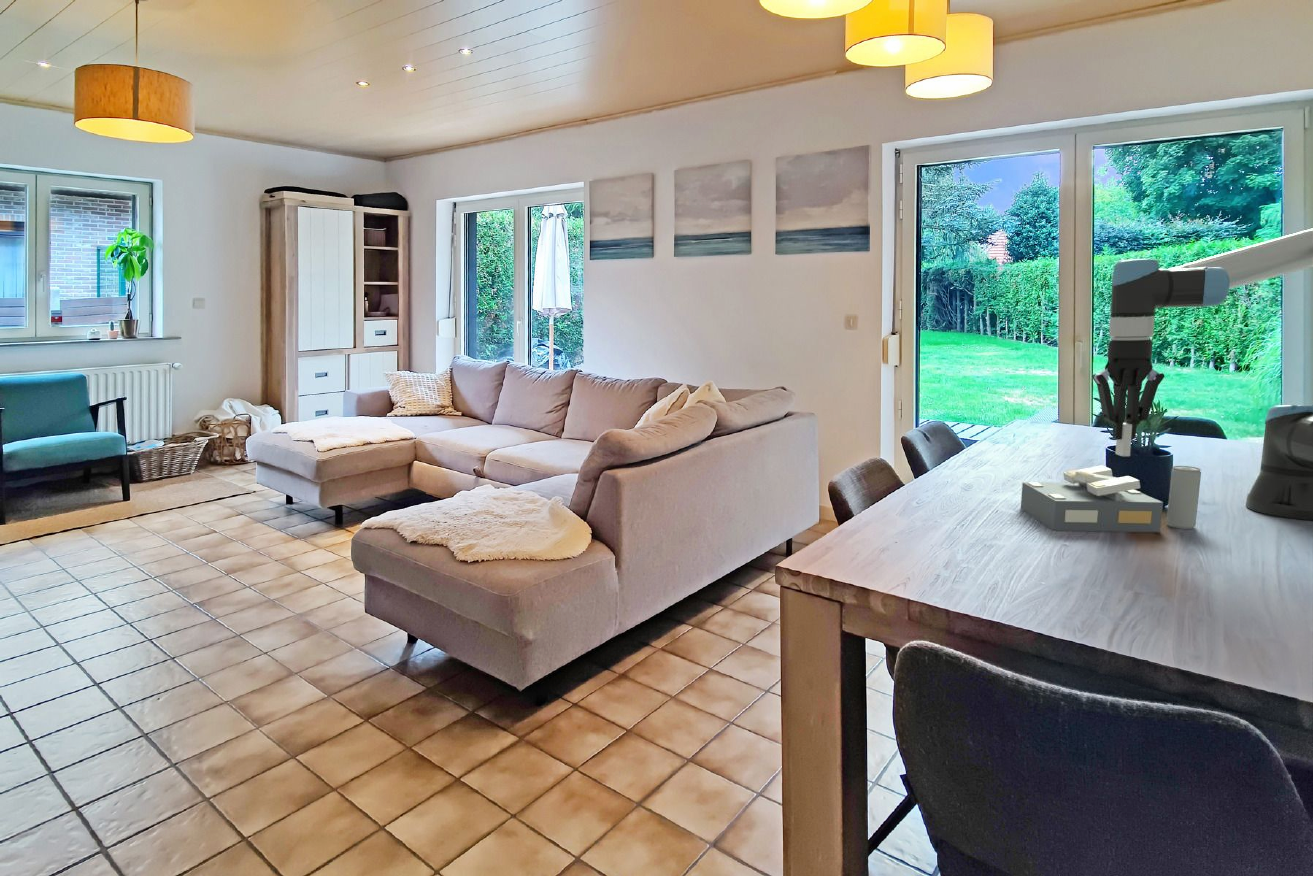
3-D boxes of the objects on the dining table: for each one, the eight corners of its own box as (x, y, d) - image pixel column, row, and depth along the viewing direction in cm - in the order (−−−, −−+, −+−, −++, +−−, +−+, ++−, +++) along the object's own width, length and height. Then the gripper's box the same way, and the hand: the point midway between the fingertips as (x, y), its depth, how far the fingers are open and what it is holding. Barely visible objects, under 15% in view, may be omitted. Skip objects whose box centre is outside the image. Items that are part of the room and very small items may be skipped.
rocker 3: (1129, 483, 152) (1127, 475, 151) (1140, 488, 148) (1139, 479, 147) (1087, 491, 153) (1086, 482, 152) (1097, 495, 149) (1096, 487, 148)
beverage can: (1199, 530, 149) (1206, 470, 147) (1172, 529, 150) (1178, 470, 148) (1188, 523, 153) (1194, 466, 151) (1161, 522, 154) (1167, 465, 152)
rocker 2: (1113, 484, 157) (1115, 476, 157) (1124, 489, 153) (1126, 480, 153) (1074, 478, 158) (1076, 470, 157) (1083, 482, 154) (1085, 474, 153)
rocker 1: (1102, 472, 162) (1101, 464, 162) (1112, 476, 158) (1111, 468, 158) (1064, 479, 163) (1063, 471, 163) (1072, 483, 159) (1071, 475, 159)
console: (1116, 510, 164) (1119, 476, 163) (1160, 532, 147) (1164, 495, 146) (1020, 508, 166) (1022, 475, 165) (1053, 530, 149) (1056, 494, 148)
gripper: (1154, 337, 153) (1146, 451, 157) (1087, 339, 155) (1080, 452, 158) (1176, 338, 146) (1166, 458, 150) (1105, 340, 147) (1098, 458, 151)
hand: (1122, 454), depth 154 cm, fingers closed
